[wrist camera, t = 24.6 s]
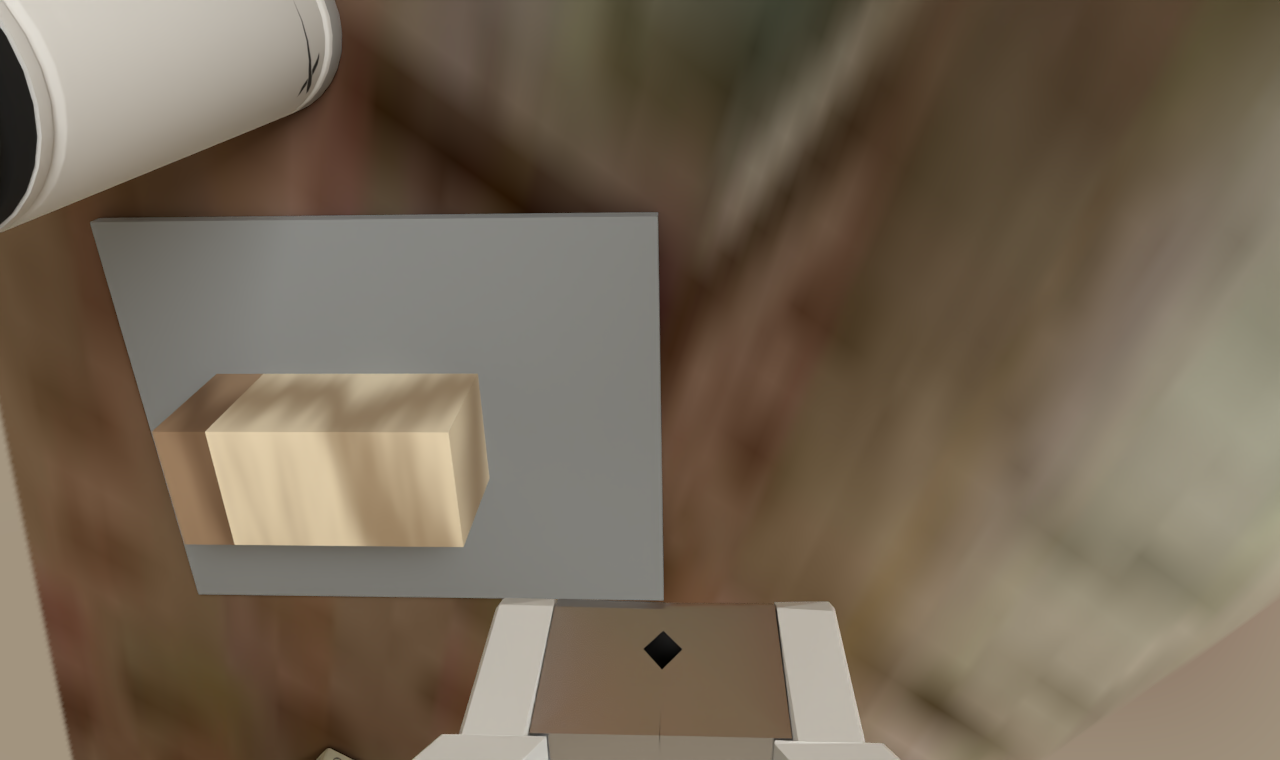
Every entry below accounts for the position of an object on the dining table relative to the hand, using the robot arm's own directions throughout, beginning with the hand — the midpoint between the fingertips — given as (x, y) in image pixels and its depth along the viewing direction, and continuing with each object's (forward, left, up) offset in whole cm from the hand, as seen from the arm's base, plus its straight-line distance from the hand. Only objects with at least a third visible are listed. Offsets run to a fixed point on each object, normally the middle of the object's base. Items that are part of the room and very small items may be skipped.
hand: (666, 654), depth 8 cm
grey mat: (+12, +12, -27) cm, 32 cm away
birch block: (+8, +12, -24) cm, 28 cm away
